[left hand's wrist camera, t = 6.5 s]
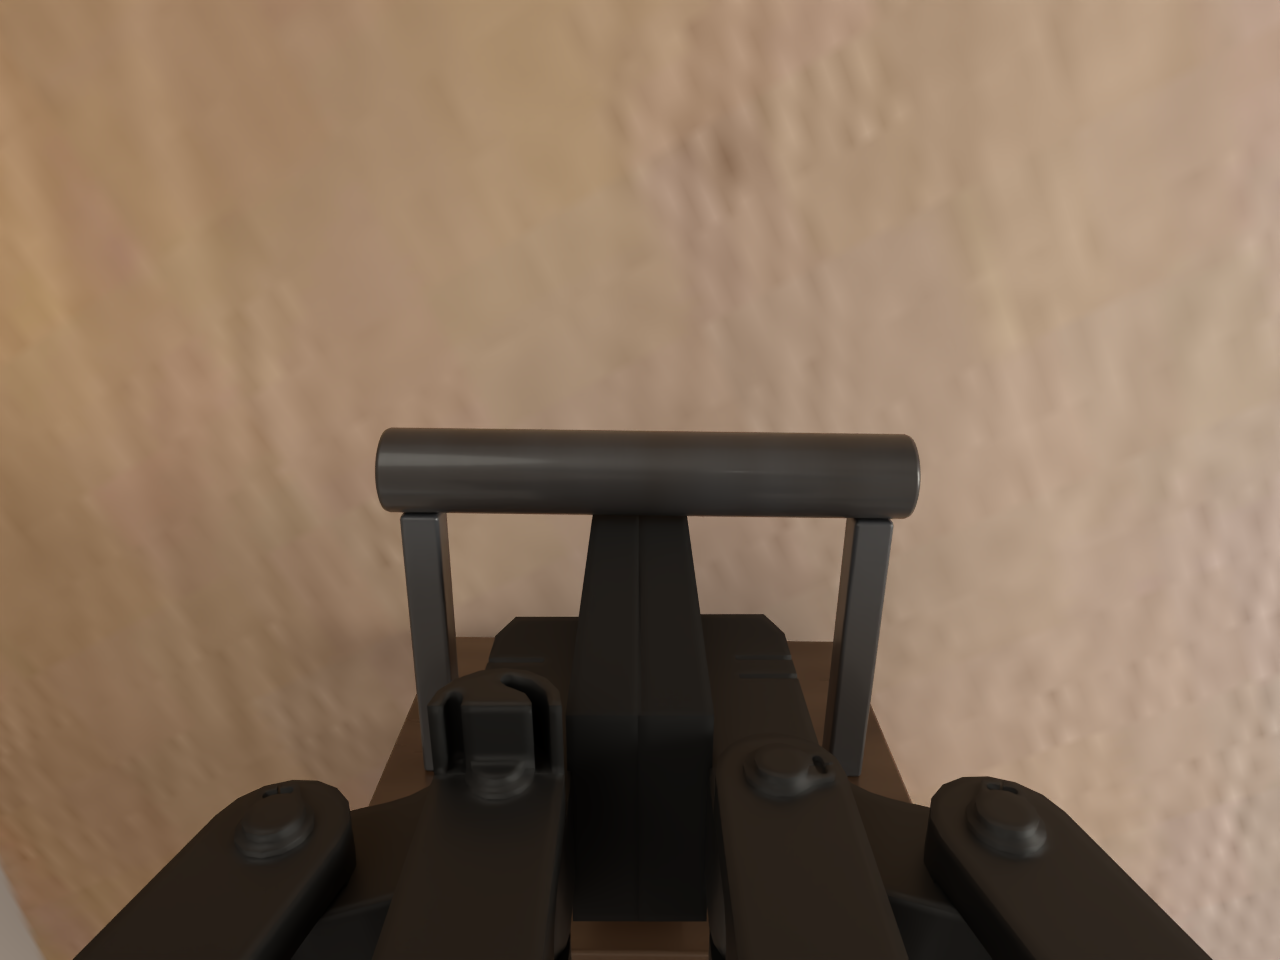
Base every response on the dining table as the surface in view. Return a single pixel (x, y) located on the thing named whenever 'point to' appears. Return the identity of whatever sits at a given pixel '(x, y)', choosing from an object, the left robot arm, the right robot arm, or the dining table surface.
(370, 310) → the dining table surface
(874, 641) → the drawer
